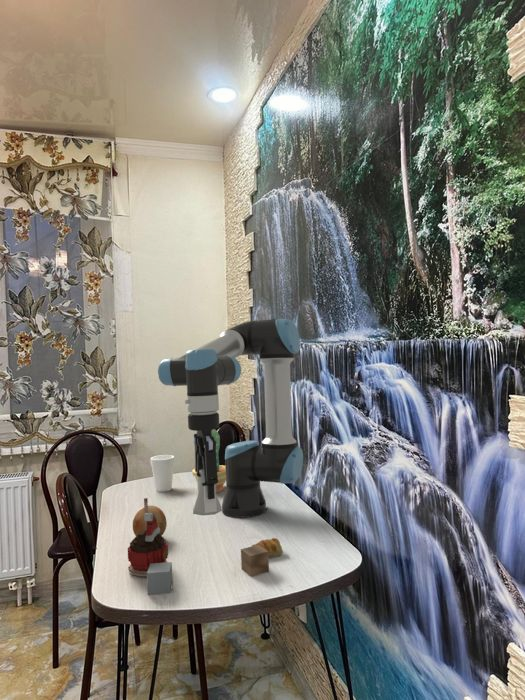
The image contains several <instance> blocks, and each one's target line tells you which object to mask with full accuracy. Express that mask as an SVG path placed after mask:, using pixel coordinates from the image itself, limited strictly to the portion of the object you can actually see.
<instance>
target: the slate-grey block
mask: <svg viewBox="0 0 525 700" xmlns="http://www.w3.org/2000/svg"><path fill="white" fill-rule="evenodd" d="M173 583H174V581H173V562H172V561H167V562H166V563H153V564H150V566H149V569H148V571H147V576H146V584H147V589H146V591H147V596H154V595H167V594H168V595H169V594H171V592H172V587H173Z"/></svg>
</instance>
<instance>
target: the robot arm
mask: <svg viewBox="0 0 525 700" xmlns="http://www.w3.org/2000/svg"><path fill="white" fill-rule="evenodd" d="M299 333H300V332H299V330H298V328H297V326H296V323H294V321H293V320H291V319H289V318H275V319H274V318H273V319H271V318H270V319H262V320H261V319H260V320H249V321H246V322H242V323H240V324H238V325H235V326H232V327H230V328H229V329H226V330H224V331H222V332H221V334H219V336H218V337H217V338H215V339H213V340H212V341H209V342H207V343H205V344H203V345H201V346H200V347H197V348H195V349H189V350H187V351H186V353H185V354H182V355H181V356H179V357H176V358H173V357H170V358H165V359H162V360H161V361H160V363H159V365H158V368H157V374H158V379H159V381H160V382H161V384H162V385H164V386H172V387H180V386H181V387H183V386H186V392H187V393H186V395H187V396H186V397H187V399H186V400H184V403H185V405H187V412H188V413H189V414H188V415H187V427H188V429H189V430H190V431H194V432H197V434H195V433H194V434H193V437H194V440H195V445H194V464H195V465H194V466H195V468H194V469H195V472H197V476H199V477H197V480H196V483H197V482H198V483H197V493H198V492H199V488H200V482H201V474H200V473H199V470H202V469H203V470H204V480H205V483H202V486H204V504H205V513H210V512H216V511H217V505H216V495H217V492H216V483H218V476H217V461H216V441H215V440H214V437H212V433H211V430H213V429H215V430H217V429H218V428H220V414H219V412H217V411H219V410H220V404H219V403H220V402H219V392H218V391H219V389H218V387H219V386H224V385H227V386H229V385H231V384H233V383H237V381H238V380H239V379H240V377H241V374H242V366H241V363H240V361H239V360H238V359H237V358H238V357H240V356H248V355H250V356H251V355H252V356H253V355H256V356H258V355H259V357H258V358H259V359H258V360H259V361H260V362H261V363H262V364H263V367H264V368H263V374H264V407H265V408H264V410H265V411H264V413H265V438H264V439H262V441H261V445H260V442H259V440H244V441H239V442H234V443H232V444H229V445H227V446H226V448H225V449H224V450H225V452H224V453H225V454H224V460H225V461H224V463H225V464H224V466H225V468H226V482H225V484H226V485H225V486H226V487H225V488H226V489H225V493H224V497H223V499H222V504H221V509H222V511H221V512H222V514H223V515H225V516H228V517H233V518H249V517H254V516H255V517H256V516H260V515H261V514H264V513H265V512H266V511H267V502H266V499H265V496H264V494H263V491H262V487H261V482H267V483H276V484H277V483H279V484H293V483H295V482H297V480H299V478H300V475H301V474H302V473H301V472H302V471H303V465H304V452H303V449H302V448H301V447H299V446H298V445H297V440H296V439H295V437H294V436H293V435H292V434H293V431H292V429H293V427H292V402H291V401H292V400H291V397H292V396H291V367H290V366H291V363H292V362H293V361H294V360H295V354H298V353H299V351H300V346H301V338H300V335H299ZM211 478H213V479H211Z"/></svg>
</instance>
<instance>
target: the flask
mask: <svg viewBox="0 0 525 700" xmlns="http://www.w3.org/2000/svg"><path fill="white" fill-rule="evenodd" d="M199 473H200V474H201V482H200V488H199V492H198V491H197V496H196V499H195V502H194V506H193V509H192V510H193V511H192V514H193V515H198V516H211V515H212V516H213V515H217V514H219V513H220V512H222V504H221V503H220V500H219V498H218V496H217V494H216V505H217V511H216V512H210V513H205V504H204V486H202V483H205V480H204V470H203V469H202V470H199Z"/></svg>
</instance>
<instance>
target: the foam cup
mask: <svg viewBox="0 0 525 700" xmlns="http://www.w3.org/2000/svg"><path fill="white" fill-rule="evenodd" d="M150 466H151V470H152V478H153V484H154V489H155V491H156V492H159V493H161V492H164V493H165V492H168V491H171V490H172V487H173V480H174V479H173V477H174V469H175V467H174V466H175V456H174V455H173V454H171V455H170V454H161V455H155V456H152V457H150Z"/></svg>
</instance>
